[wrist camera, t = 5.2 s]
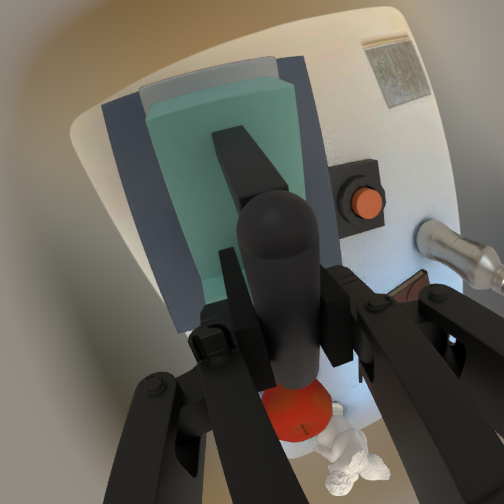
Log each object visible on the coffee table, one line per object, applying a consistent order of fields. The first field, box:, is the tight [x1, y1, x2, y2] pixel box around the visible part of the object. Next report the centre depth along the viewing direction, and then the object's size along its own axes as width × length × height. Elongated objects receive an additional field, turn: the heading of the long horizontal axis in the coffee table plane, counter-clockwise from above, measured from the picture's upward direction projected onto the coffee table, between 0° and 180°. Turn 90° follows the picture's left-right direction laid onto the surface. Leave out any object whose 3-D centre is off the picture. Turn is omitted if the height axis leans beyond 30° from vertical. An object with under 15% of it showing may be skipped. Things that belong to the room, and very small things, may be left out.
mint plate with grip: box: [139, 56, 320, 390], centre depth 13 cm, size 12×7×12 cm, turn 13°
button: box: [351, 187, 382, 219], centre depth 39 cm, size 4×4×2 cm
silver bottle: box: [416, 220, 504, 295], centre depth 39 cm, size 6×7×20 cm
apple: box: [262, 378, 333, 443], centre depth 47 cm, size 12×12×14 cm
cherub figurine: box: [313, 402, 391, 496], centre depth 49 cm, size 12×12×22 cm
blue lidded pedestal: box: [101, 56, 342, 333], centre depth 30 cm, size 18×14×20 cm
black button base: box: [328, 159, 386, 239], centre depth 42 cm, size 10×8×4 cm
